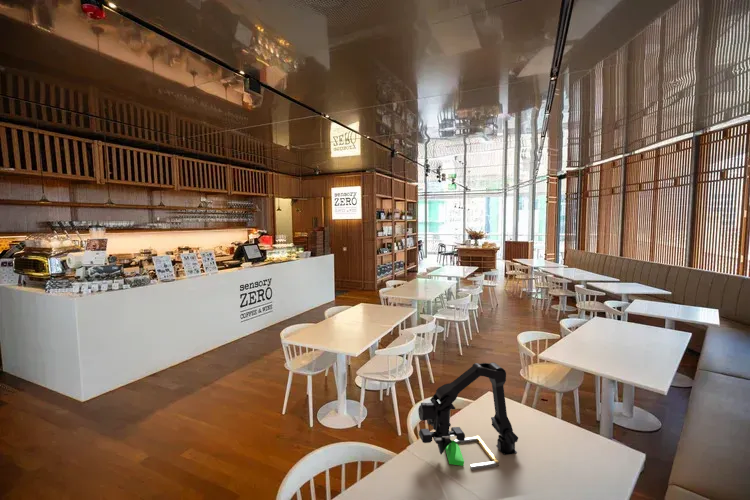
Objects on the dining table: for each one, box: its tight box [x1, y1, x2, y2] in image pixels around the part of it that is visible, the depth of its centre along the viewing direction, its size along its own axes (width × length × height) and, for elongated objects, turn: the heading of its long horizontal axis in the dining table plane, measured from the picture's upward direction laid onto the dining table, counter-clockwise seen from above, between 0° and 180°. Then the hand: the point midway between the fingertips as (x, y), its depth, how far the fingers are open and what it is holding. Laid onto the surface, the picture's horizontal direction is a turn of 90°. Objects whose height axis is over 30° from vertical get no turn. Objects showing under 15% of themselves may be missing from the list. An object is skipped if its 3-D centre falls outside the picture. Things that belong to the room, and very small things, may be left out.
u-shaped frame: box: [453, 435, 500, 471], centre depth 144 cm, size 12×17×2 cm
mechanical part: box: [444, 439, 465, 467], centre depth 143 cm, size 12×6×8 cm, turn 178°
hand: (440, 453), depth 141 cm, fingers closed
